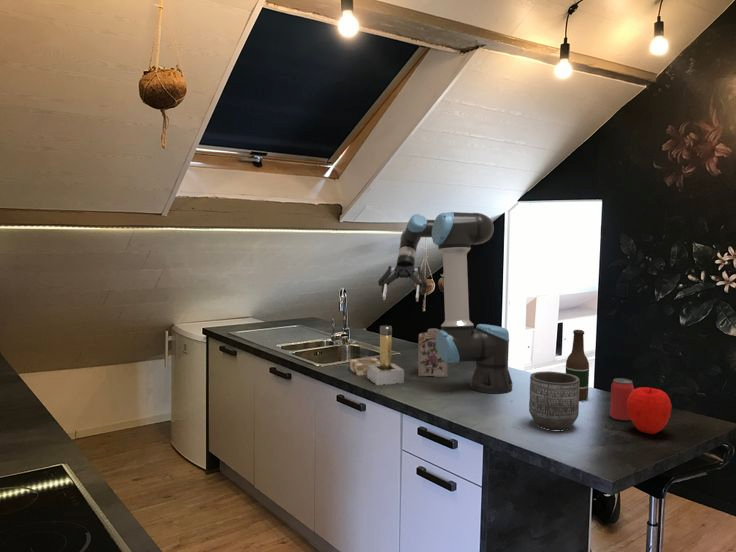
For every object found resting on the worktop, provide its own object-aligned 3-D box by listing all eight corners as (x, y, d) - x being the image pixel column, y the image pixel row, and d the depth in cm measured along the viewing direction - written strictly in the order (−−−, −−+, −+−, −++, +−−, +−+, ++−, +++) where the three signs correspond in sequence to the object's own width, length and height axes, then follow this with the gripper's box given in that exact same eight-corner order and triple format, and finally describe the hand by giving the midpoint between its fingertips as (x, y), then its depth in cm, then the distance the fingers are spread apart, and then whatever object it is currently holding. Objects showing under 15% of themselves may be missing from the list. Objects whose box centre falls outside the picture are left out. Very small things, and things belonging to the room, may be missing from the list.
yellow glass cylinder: (392, 381, 228) (393, 327, 226) (381, 382, 226) (382, 327, 225) (388, 378, 232) (389, 325, 230) (377, 379, 231) (378, 325, 229)
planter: (519, 425, 179) (521, 376, 178) (543, 415, 189) (545, 368, 188) (563, 437, 169) (565, 386, 168) (586, 426, 179) (588, 377, 178)
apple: (627, 437, 170) (629, 391, 169) (622, 423, 181) (625, 380, 180) (673, 441, 167) (675, 395, 165) (665, 428, 178) (668, 384, 177)
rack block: (383, 373, 240) (384, 363, 239) (357, 375, 236) (357, 365, 236) (375, 367, 250) (375, 357, 250) (350, 369, 247) (350, 359, 246)
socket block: (403, 383, 226) (404, 370, 225) (376, 385, 222) (376, 372, 222) (393, 375, 236) (393, 363, 236) (367, 377, 233) (367, 365, 232)
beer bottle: (573, 402, 203) (575, 332, 201) (559, 395, 210) (562, 328, 208) (592, 400, 205) (595, 331, 203) (579, 394, 212) (581, 327, 210)
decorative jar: (446, 370, 246) (447, 327, 244) (447, 377, 234) (448, 332, 233) (417, 369, 247) (418, 326, 246) (417, 376, 236) (418, 331, 234)
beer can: (613, 413, 191) (615, 376, 190) (635, 417, 187) (637, 380, 186) (606, 418, 186) (608, 380, 185) (628, 422, 182) (630, 384, 181)
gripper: (435, 266, 256) (431, 305, 242) (378, 264, 261) (371, 303, 248) (434, 254, 250) (430, 294, 237) (376, 253, 255) (369, 292, 242)
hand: (400, 298), depth 242 cm, fingers open, 13 cm apart
